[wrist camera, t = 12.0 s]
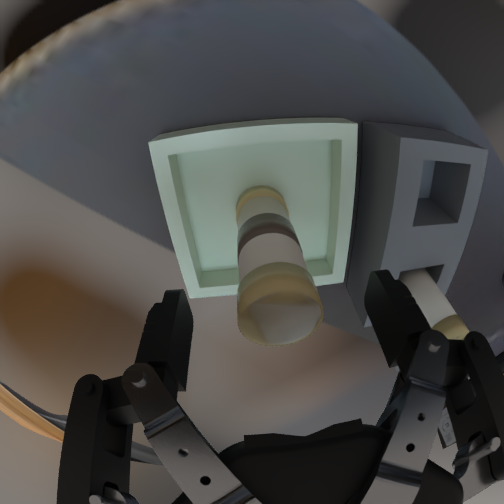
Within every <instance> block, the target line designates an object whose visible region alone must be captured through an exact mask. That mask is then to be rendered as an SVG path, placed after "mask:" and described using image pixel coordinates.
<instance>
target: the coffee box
mask: <svg viewBox="0 0 504 504" xmlns="http://www.w3.org/2000/svg"><path fill="white" fill-rule="evenodd" d="M437 431H438V434H439V437H440V441H441V444H442V447H443V449H444V448H446V447H448V446H450V445H452V444H454V443H456V439H455V435H454V431H453V428H452V424H451V421H450V417H449V414H448V411H447V407H446V404H444V408H443V412H442V415H441V419H440V423H439V426H438V430H437Z"/></svg>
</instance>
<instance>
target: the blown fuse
mask: <svg viewBox="0 0 504 504" xmlns="http://www.w3.org/2000/svg"><path fill="white" fill-rule="evenodd" d="M236 223H237V227H238V236H237V258H238V267H239V286H238V290H237V313H238V327H239V330H240V332H241V333H242V335H243V336H244V337H246V338H247V339H248V340H250V341H252V342H254V343H256V344H260V345H265V346H284V345H289V344H293V343H296V342H298V341H301V340H303V339H305V338H307V337H308V336H310V335H311V334H312V333H313V332H314V331H315V330H316V329H317V328H318V327H319V326H320V324H321V322H322V320H323V316H324V311H323V306H322V303H321V300H320V297H319V294H318V291H317V288H316V286H315V283H314V280H313V278H312V276H311V274H310V273H309V272H308V269H307V266H306V263H305V260H304V257H303V252H302V249H301V246H300V243H299V240H298V238H297V235H296V232H295V230H294V227H293V225H292V224H291V221H290V218H289V211H288V209H287V206H286V203H285V201H284V198H283V197H282V195H281V194H280V193H279V192H278V191H277V190H276V189H274V188H272V187H269V186H264V185H258V186H254V187H251V188H249V189H247V190H246V191H244V192H243V193H242V194H241V196H240V197H239V199H238V201H237V204H236Z"/></svg>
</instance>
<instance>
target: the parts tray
mask: <svg viewBox="0 0 504 504" xmlns="http://www.w3.org/2000/svg"><path fill="white" fill-rule="evenodd" d="M357 133H358V124H357V123H355V122H352V121H350V120H347V119H344V118H283V119H266V120H253V121H243V122H233V123H225V124H217V125H210V126H203V127H197V128H190V129H185V130H179V131H174V132H169V133H164V134H159V135H158V136H156V137H155V138H154V139H152V140H151V141H149V142H148V144H149V149H150V154H151V158H152V163H153V167H154V172H155V176H156V181H157V185H158V189H159V193H160V197H161V201H162V205H163V209H164V213H165V217H166V220H167V224H168V228H169V232H170V235H171V239H172V242H173V246H174V249H175V253H176V256H177V259H178V262H179V265H180V269H181V272H182V276H183V279H184V282H185V285H186V288H187V291H188V294H189V297H190V298H203V297H215V296H227V295H237V290H238V286H239V267H238V258H237V236H238V227H237V223H236V204H237V201H238V199H239V197H240V196H241V194H242V193H243V192H244V191H246V190H247V189H249V188H251V187H254V186H258V185H264V186H269V187H272V188H274V189H276V190H277V191H278V192H279V193H280V194H281V195H282V197H283V198H284V201H285V203H286V206H287V209H288V211H289V218H290V221H291V224H292V225H293V227H294V230H295V232H296V235H297V238H298V240H299V243H300V246H301V249H302V252H303V257H304V260H305V263H306V266H307V269H308V272H309V273H310V274H311V276H312V278H313V280H314V283H315V286H320V285H328V284H335V283H342V282H343V281H344V275H345V269H346V262H347V255H348V248H349V240H350V232H351V224H352V214H353V204H354V192H355V179H356V162H357Z"/></svg>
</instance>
